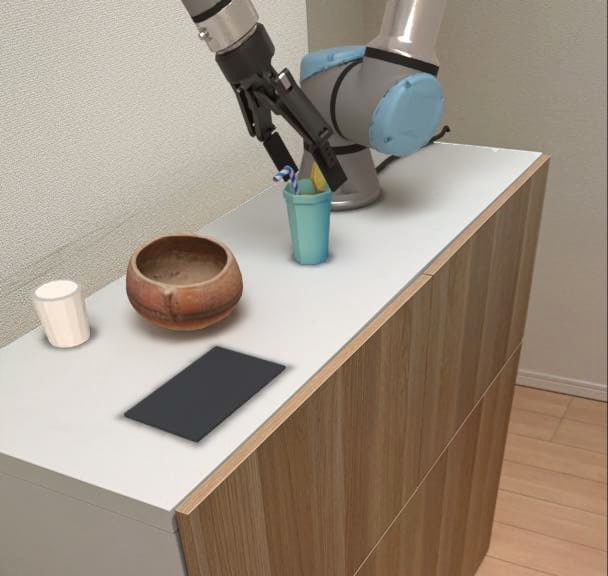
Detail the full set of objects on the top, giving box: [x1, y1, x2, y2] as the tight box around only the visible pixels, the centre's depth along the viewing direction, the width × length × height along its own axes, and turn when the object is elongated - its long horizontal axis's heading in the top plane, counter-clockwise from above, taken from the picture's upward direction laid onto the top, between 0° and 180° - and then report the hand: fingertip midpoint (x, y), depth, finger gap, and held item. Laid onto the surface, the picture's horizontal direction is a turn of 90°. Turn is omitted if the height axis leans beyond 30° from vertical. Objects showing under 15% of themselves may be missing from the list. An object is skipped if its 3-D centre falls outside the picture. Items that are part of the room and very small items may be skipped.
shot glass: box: [29, 278, 91, 349], centre depth 103 cm, size 7×7×7 cm
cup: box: [272, 162, 333, 266], centre depth 115 cm, size 14×8×15 cm, turn 145°
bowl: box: [125, 232, 244, 331], centre depth 104 cm, size 16×16×10 cm
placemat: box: [123, 345, 287, 443], centre depth 94 cm, size 18×11×1 cm, turn 148°
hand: (314, 180), depth 114 cm, fingers open, 13 cm apart
